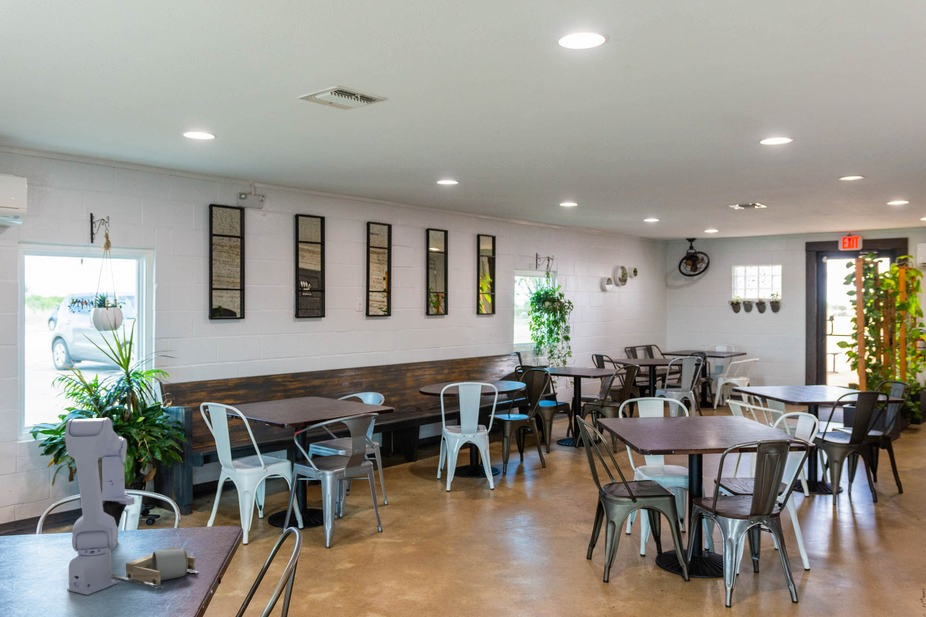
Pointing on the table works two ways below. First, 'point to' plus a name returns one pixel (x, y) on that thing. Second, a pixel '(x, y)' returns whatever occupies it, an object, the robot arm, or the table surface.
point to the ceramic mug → (170, 563)
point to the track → (138, 581)
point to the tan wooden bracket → (149, 568)
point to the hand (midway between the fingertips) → (114, 527)
